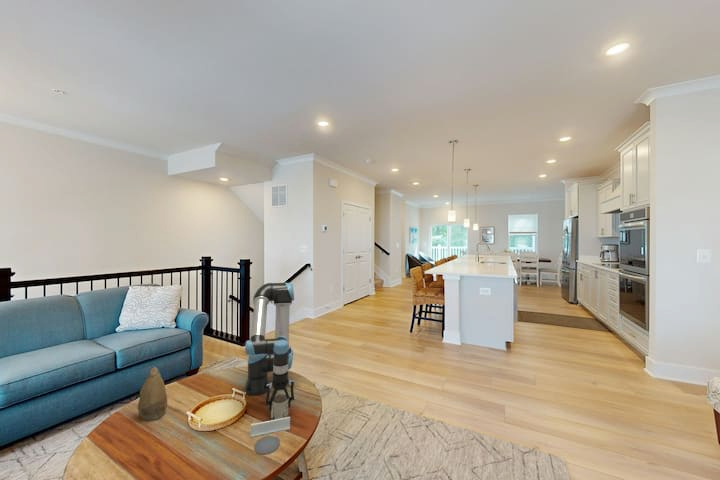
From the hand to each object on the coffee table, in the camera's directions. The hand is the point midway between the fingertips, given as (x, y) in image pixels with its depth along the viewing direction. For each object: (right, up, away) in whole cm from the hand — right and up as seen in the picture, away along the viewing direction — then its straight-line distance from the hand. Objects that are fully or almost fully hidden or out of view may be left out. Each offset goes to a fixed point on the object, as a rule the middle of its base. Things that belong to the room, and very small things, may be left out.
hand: (279, 415), depth 147 cm
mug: (-1, -1, 0) cm, 2 cm away
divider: (-1, -1, -11) cm, 11 cm away
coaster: (0, -1, -20) cm, 20 cm away
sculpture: (-65, 0, -1) cm, 65 cm away
